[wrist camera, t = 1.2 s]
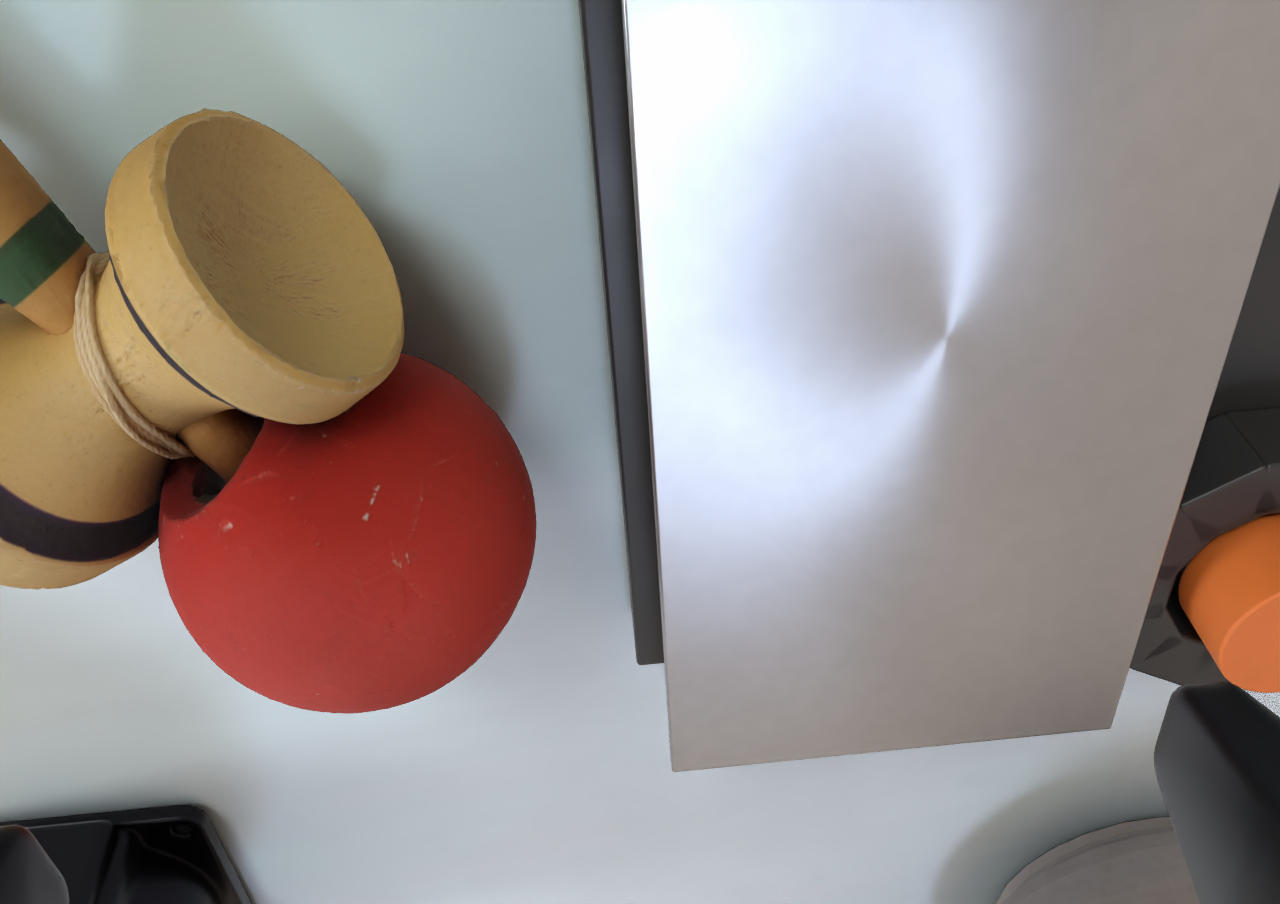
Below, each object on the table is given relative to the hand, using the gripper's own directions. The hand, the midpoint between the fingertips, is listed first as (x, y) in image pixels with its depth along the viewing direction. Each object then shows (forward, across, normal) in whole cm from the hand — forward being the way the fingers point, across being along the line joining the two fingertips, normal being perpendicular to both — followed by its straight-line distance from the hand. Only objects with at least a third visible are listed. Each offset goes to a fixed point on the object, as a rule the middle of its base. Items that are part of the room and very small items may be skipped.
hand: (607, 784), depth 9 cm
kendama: (+12, +8, 0) cm, 14 cm away
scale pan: (+9, -5, +2) cm, 11 cm away
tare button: (+9, -12, +9) cm, 18 cm away
